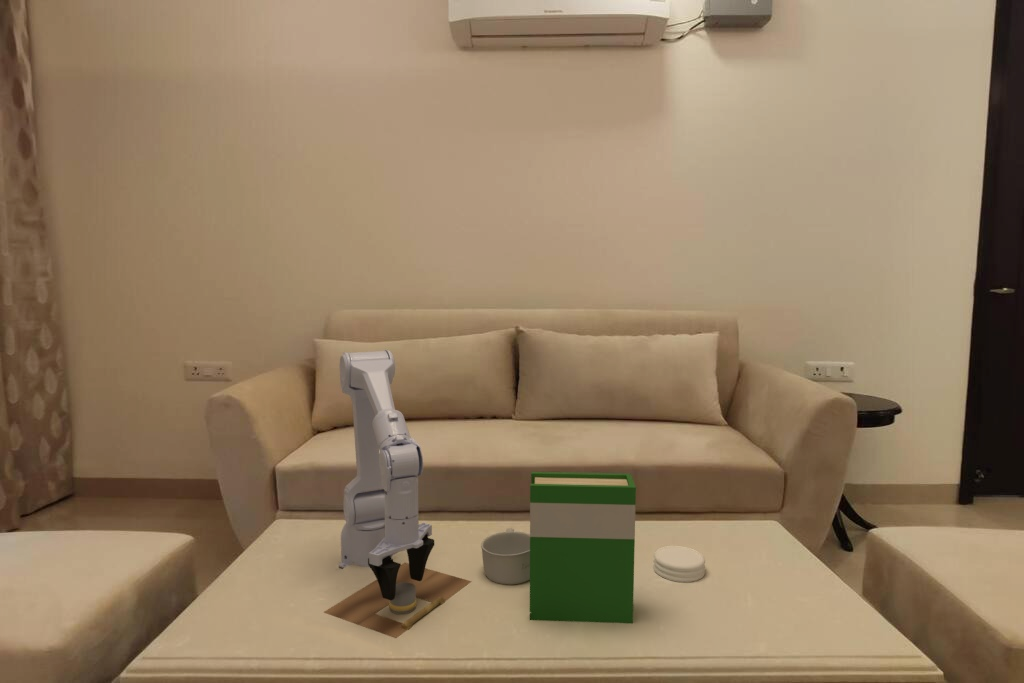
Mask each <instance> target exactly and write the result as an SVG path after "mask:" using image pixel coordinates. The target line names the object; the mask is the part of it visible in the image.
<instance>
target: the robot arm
mask: <svg viewBox="0 0 1024 683" xmlns="http://www.w3.org/2000/svg"><path fill="white" fill-rule="evenodd" d="M395 374H396V362H395V357H394V354H393V353H392V351H390V350H389V349H385V350H377V351H376V350H375V351H361V352H359V351H358V352H356V351H355V352H345V351H344V352H343V353H342V354H341V356H340V358H339V380H340V383H339V384H340V389H341V393H342V394H345V395H347V396H349V397H350V401H351V406H352V420H353V433H354V447H355V448H354V449H355V461H356V462H355V464H356V476H355V477H354V478H353V479H352V480H351V481H349V482H348V484H346V486H345V487H344V489H343V503H342V504H343V505H342V506H343V516H344V520H345V523H344V525H343V527H342V529H341V532H340V549H341V550H340V552H341V555H340V558H341V562H340V563H338V567H339V568H342V569H344V568H347V567H348V566H350V565H351V564H355V565H356V566H359V567H366V568H370V569H371V571H372V572H373V574H374V576H375V578H376V580H377V581H378V583H379V586H380V590H381V593H382V597H383V598H385V599H388V600H393V599H394V598H395V593H396V579H397V574H398V571H399V568H400V565H402V563H401V562H395V561H394V559H393V558H392V557H393V556H394V555H395V554H398V553H399V552H403V551H406V552H407V558H408V563H409V571H410V577H411V579H413V580H417V581H421V580H422V578H423V574H424V570H425V568H426V565H427V561H428V560H429V559H428V558H429V556H430V554H431V552H432V550H433V548H434V547H435V539H433V538H431V536H432V535H433V525H432V524H431V523H427V522H422V523H420V522H419V477H420V476H422V474H423V470H424V458H423V452H422V449H421V446H420V444H419V443H418V442H417V441H416V439H415V438H414V437H412V438H411V435H410V431H409V429H408V425H407V422H406V420H405V416H404V414H403V413H402V412H401V411H399V410H397V409H396V407H395V403H394V399H393V398H394V397H393V394H392V389H391V385H392V384H393V381H394V378H395ZM419 523H420V524H419Z"/></svg>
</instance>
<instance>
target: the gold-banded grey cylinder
mask: <svg viewBox="0 0 1024 683" xmlns="http://www.w3.org/2000/svg"><path fill="white" fill-rule="evenodd" d="M417 604H418V603H417V598H416V591H415V585H413V584H412V583H407V582H402V583H397V584H396V593H395V598H394V599H393V600H389V605H388V606H389V609H390V612H392V613H394V614H396V615H406V614H409V613H411V612H414V611H415V609H416V608H417V607H416V606H417Z"/></svg>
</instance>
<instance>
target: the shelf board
mask: <svg viewBox="0 0 1024 683" xmlns="http://www.w3.org/2000/svg"><path fill="white" fill-rule="evenodd" d="M402 582H407V583H412V584H413V585H415V591H416V599H420V600H423V601H427V602H429V604H428V605H426V606H425V607H423V608H422V609H420V610H419V611H418V612H416V613H415V614H414V615H412V616H410V617H409V618H408V619H406V620H405V621H404V622H400V621H397V620H395V619H392V618H389V617H386V616H383V615H379V614H377V613H378V612H379V611H381V610H383V609H384V608H386V607H387V606H389V600H388V599H385V598H383V597H382V593H381V590H380V586H379V583H378V581H377V579H376V580H374V581H372V582H371V583H369V584H367V585H365V586H364V587H362V588H361V589H359V590H356V592H354V593H352V594H351V595H349V596H348V597H346V598H344V599H342V600H341V601H340V602H338V603H336V604H334V605H333V606H331V607H329V608H328V609H326V610H324V611H323V613H324V614H326V615H327V614H328V615H330V616H333V617H335V618H338V619H341V620H344V621H346V622H350V623H352V624H355V625H357V626H360V627H364V628H366V629H369V630H372V631H375V632H378V633H380V634H383V635H386V636H387V637H391V638H393V639H397V638H398V637H400V636H401V635H403V634H404V633H405V632H407V631H408V630H410V629H411V628H412V627H413V624H415V623H416V622H417V621H418V620H421V619H422V618H423V617H425V615H428V613H430V612H431V611H432V610H434V608H436V607H437V606H441V605H443V604H444V603H445V602H446V601H448V600H449V599H450V598H452V597H453V596H454V595H455V594H457V593H458V592H460V591H461V590H463V589H464V588H465V587H466V586H467V585H469V584H470V583H471V582H472V580H468V579H466V578H462V577H458V576H454V575H450V574H447V573H443V572H440V571H437V570H433V569H429V568H426V567H425V570H424V574H423V578H422V580H421V581H417V580H413V579H411V577H410V571H409V562H404V563H401V565H400V568H399V571H398V574H397V579H396V584H397V583H402Z"/></svg>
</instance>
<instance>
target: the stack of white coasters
mask: <svg viewBox="0 0 1024 683" xmlns="http://www.w3.org/2000/svg"><path fill="white" fill-rule="evenodd" d="M653 557H654V559H653V570H654V572H655V573H656V574H657V575H658V576H660V577H661V578H663V579H666V580H669V581H672V582H678V583H691V582H693V583H694V582H698V581H699V580H701V579H702V578H703V577H704V576H705V573H706V571H705V570H706V569H705V568H706V565H705V564H706V559H705V558H706V557H705V556H704V555H703V553H701V552H700V551H699V550H696V549H693V548H691V547H688V546H684V545H683V546H682V545H666V546H662V547H659V548H658V549H656V550H655V551H654V553H653Z"/></svg>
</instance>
